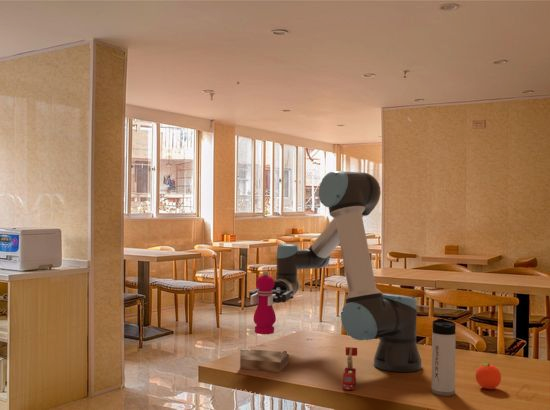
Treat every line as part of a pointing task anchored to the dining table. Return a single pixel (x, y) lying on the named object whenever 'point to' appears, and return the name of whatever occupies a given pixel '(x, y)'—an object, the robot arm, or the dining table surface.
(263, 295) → the pepper mill
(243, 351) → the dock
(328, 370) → the dining table surface
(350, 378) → the toy fire truck
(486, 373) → the clementine
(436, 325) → the travel mug
